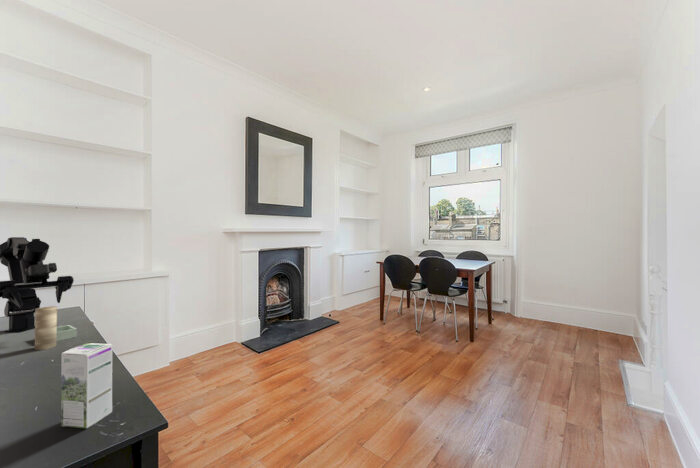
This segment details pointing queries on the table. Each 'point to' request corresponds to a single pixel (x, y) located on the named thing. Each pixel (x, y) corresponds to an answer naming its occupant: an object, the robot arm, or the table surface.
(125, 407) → the table surface
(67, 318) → the table surface
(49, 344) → the maple dowel
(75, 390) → the syrup box
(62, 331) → the sage collar
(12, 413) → the table surface
